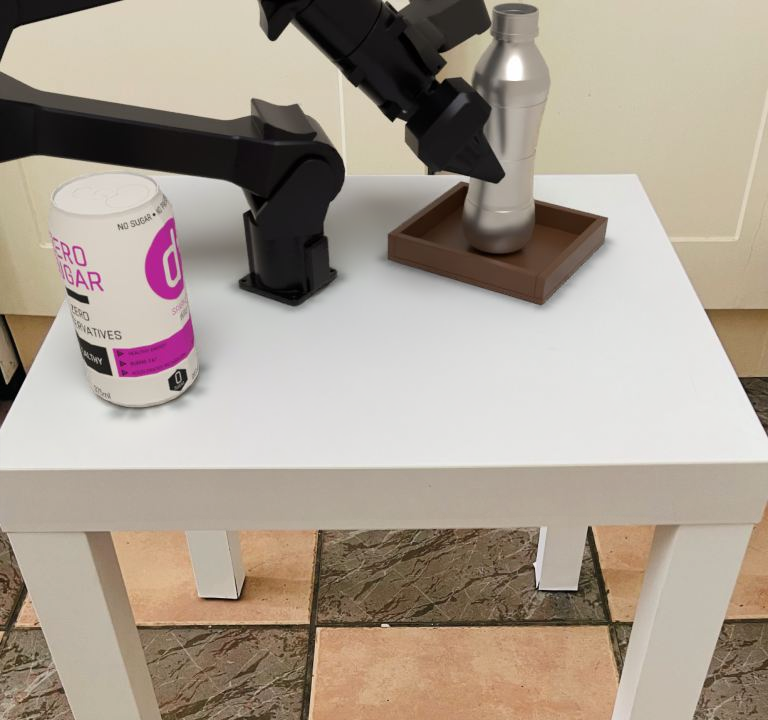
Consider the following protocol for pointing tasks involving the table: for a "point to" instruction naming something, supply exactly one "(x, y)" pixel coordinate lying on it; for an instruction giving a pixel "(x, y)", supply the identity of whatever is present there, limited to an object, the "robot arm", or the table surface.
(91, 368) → the white soda can
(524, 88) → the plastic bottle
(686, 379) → the table surface
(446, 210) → the tray
